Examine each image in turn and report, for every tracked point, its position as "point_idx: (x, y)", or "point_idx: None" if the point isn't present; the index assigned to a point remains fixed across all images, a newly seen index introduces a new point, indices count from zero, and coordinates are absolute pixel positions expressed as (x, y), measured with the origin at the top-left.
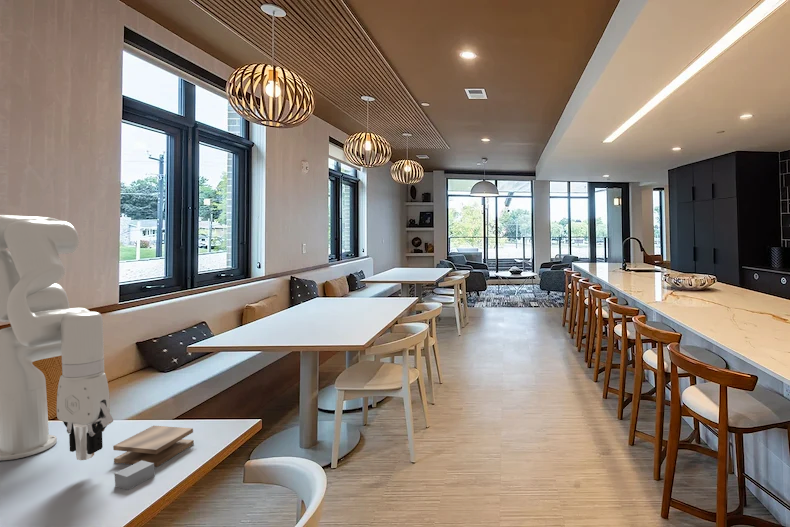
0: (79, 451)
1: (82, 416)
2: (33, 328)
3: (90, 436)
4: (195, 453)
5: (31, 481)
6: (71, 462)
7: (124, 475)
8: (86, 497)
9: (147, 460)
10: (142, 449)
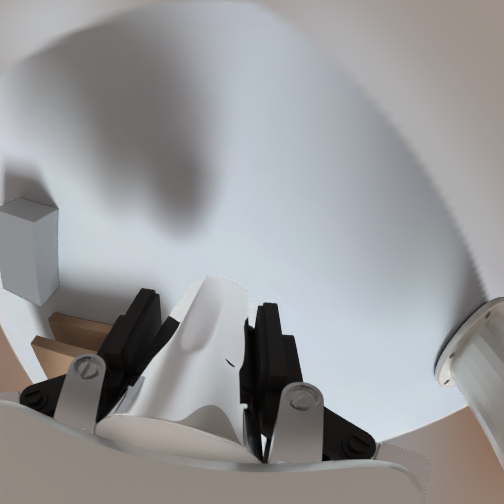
0: (202, 297)
1: (12, 475)
2: None
3: (109, 359)
4: None
5: (386, 212)
6: (346, 325)
7: (4, 215)
8: (84, 134)
9: (80, 332)
10: (70, 353)
